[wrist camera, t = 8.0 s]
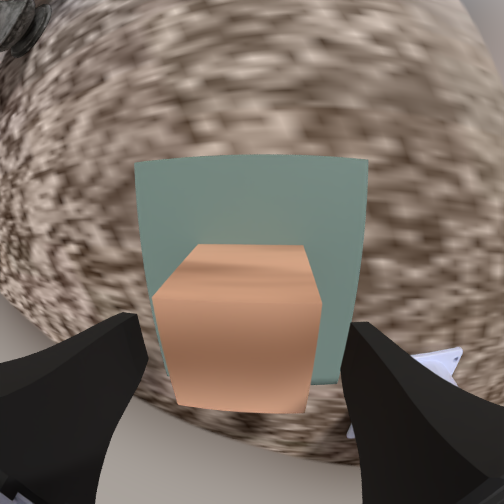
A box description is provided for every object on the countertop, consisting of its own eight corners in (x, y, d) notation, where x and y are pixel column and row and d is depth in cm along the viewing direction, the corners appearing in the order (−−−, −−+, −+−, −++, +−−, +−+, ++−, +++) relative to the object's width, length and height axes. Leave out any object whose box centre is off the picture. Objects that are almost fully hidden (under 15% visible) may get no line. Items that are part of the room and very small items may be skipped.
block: (297, 333, 13) (304, 413, 8) (206, 330, 13) (178, 404, 8) (303, 245, 11) (322, 303, 7) (198, 244, 12) (151, 297, 7)
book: (330, 357, 16) (336, 383, 14) (179, 351, 17) (167, 375, 15) (351, 159, 12) (368, 159, 10) (156, 161, 13) (134, 162, 11)
